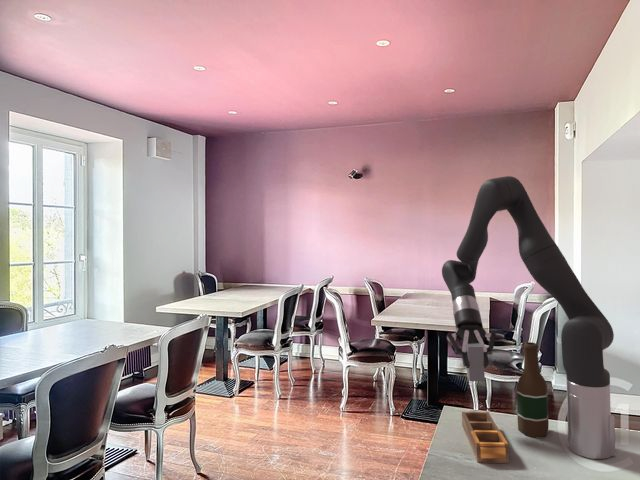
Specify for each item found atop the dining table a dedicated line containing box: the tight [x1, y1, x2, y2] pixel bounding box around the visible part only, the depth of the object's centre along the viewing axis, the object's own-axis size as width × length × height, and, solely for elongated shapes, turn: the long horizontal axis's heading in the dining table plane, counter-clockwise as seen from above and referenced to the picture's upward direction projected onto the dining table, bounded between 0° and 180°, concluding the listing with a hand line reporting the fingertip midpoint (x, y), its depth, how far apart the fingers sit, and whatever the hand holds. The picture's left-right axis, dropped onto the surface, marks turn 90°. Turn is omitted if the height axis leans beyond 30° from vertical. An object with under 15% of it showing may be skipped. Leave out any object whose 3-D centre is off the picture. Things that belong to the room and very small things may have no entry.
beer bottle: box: [516, 341, 549, 438], centre depth 124 cm, size 8×8×24 cm
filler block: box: [466, 343, 486, 382], centre depth 128 cm, size 4×4×10 cm
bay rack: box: [461, 411, 510, 464], centre depth 119 cm, size 7×21×4 cm, turn 173°
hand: (476, 366), depth 126 cm, fingers closed on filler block, 4 cm apart
